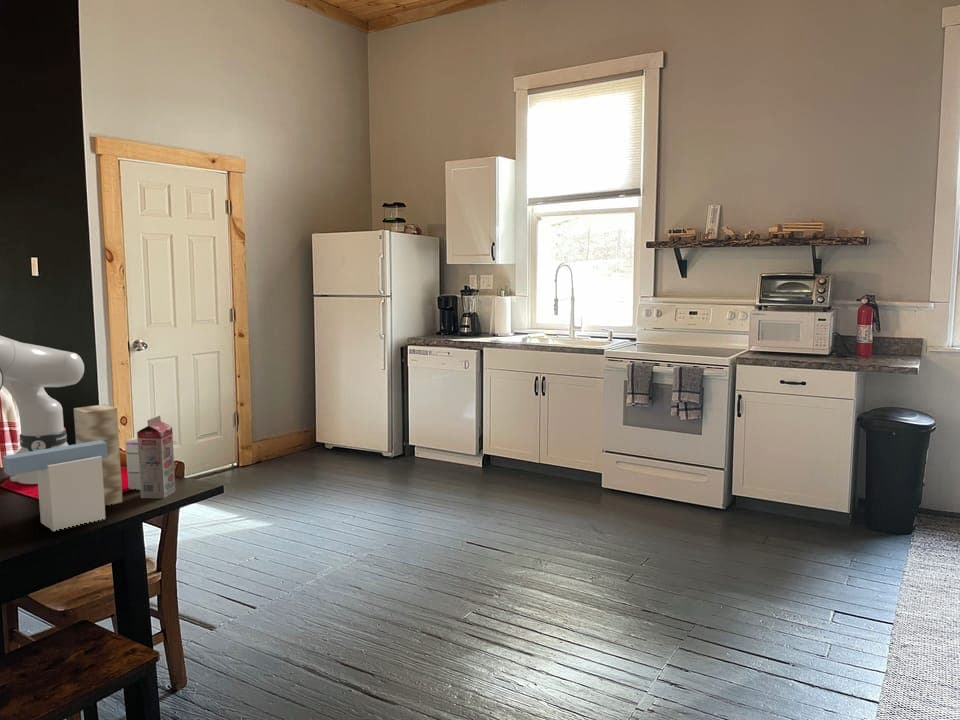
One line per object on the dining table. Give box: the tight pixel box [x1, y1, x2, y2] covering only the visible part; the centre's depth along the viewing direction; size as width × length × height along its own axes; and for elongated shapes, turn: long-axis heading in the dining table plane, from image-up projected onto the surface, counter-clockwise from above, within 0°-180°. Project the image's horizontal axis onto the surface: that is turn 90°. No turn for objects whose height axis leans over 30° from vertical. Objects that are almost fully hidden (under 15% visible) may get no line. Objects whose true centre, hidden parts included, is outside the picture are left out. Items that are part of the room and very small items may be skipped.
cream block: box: [37, 456, 106, 532], centre depth 183 cm, size 12×9×16 cm
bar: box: [2, 440, 108, 477], centre depth 180 cm, size 22×4×4 cm, turn 138°
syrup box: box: [124, 436, 140, 491], centre depth 211 cm, size 6×6×14 cm
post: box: [73, 404, 123, 507], centre depth 197 cm, size 8×8×26 cm
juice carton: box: [136, 415, 176, 499], centre depth 204 cm, size 7×7×22 cm
